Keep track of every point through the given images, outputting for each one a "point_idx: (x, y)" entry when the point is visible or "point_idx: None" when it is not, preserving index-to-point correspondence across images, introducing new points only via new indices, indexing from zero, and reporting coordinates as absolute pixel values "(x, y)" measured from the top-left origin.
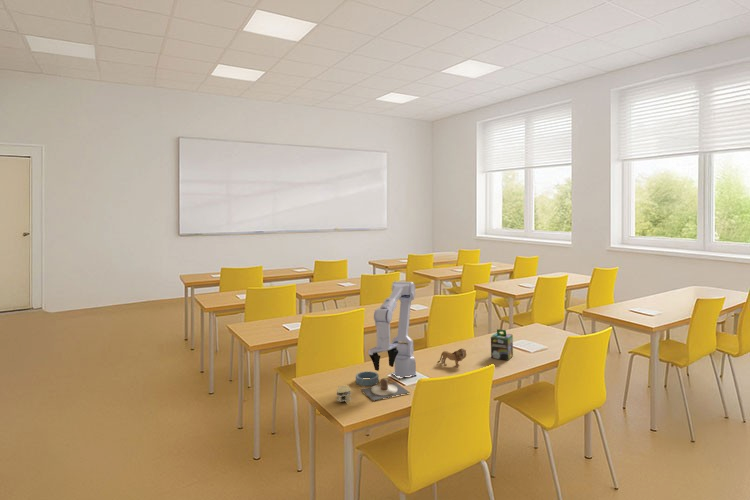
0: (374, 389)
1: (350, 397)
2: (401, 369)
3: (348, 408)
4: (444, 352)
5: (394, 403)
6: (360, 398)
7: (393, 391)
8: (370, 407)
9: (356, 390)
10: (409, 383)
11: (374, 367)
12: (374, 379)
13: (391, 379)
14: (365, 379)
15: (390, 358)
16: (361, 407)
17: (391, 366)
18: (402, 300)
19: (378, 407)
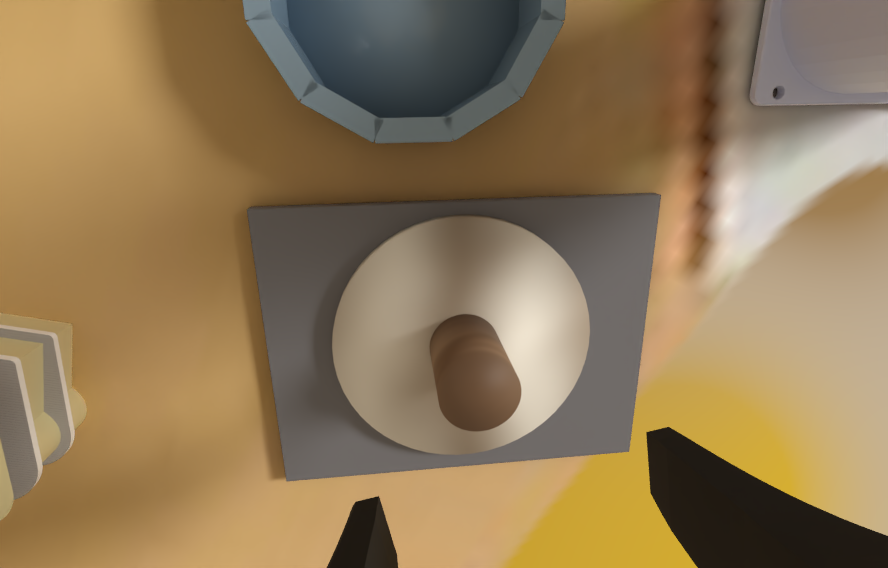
0: (367, 324)
1: (63, 437)
2: (885, 70)
3: (49, 513)
4: None
5: (432, 544)
6: (199, 377)
7: (508, 429)
8: (235, 548)
9: (208, 181)
10: (760, 247)
11: (346, 528)
12: (451, 137)
13: (685, 56)
14: (331, 118)
15: (739, 559)
16: (164, 528)
17: (651, 480)
18: None
19: (294, 564)
